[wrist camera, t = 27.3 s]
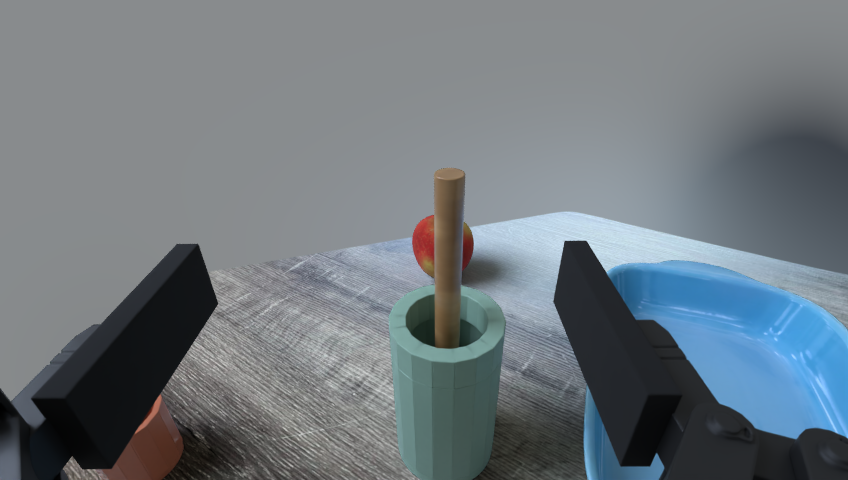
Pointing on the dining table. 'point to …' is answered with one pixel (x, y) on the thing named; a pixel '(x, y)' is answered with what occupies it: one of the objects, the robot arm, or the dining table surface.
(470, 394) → the green cylindrical holder
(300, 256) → the dining table surface
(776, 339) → the casserole dish
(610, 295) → the robot arm
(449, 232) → the tan long rod
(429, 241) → the apple
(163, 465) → the cup
